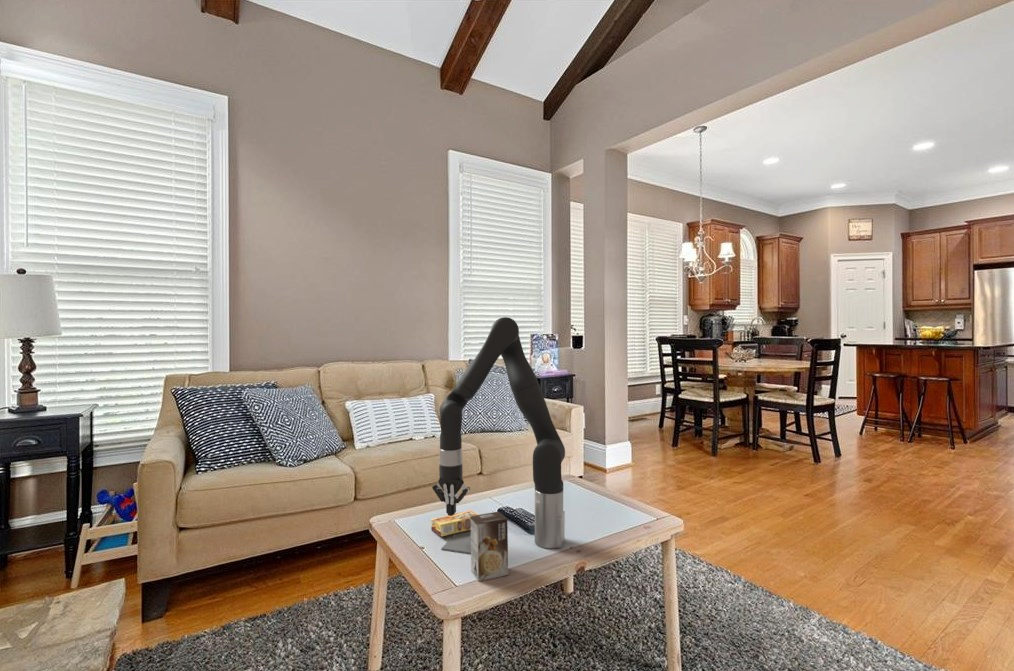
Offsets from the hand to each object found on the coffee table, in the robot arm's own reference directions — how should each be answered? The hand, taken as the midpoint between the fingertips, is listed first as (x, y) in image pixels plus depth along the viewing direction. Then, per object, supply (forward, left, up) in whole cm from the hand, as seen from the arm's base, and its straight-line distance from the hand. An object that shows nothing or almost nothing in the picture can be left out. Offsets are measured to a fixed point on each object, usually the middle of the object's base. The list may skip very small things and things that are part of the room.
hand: (451, 514), depth 156 cm
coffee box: (-19, +16, -9) cm, 26 cm away
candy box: (+7, -2, -6) cm, 9 cm away
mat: (-7, 0, -8) cm, 11 cm away
